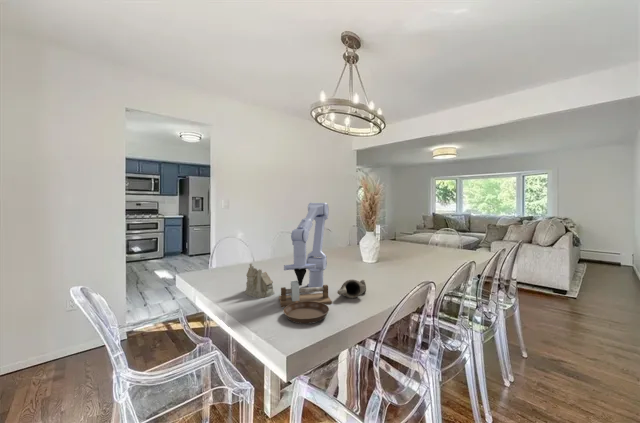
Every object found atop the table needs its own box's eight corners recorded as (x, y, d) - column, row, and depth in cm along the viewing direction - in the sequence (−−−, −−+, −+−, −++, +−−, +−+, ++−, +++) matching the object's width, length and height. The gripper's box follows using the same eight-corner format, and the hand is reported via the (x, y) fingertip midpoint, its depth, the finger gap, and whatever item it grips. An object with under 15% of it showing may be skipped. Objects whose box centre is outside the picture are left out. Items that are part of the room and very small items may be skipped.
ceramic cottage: (261, 299, 130) (262, 265, 130) (238, 293, 139) (239, 262, 140) (285, 292, 142) (285, 262, 143) (262, 288, 152) (263, 259, 153)
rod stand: (279, 298, 131) (279, 284, 131) (325, 294, 135) (325, 281, 135) (281, 307, 119) (280, 292, 119) (331, 303, 124) (331, 289, 124)
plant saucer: (291, 329, 99) (291, 321, 99) (278, 312, 115) (277, 304, 115) (337, 321, 106) (337, 313, 106) (318, 305, 122) (318, 298, 122)
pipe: (344, 310, 137) (347, 304, 124) (332, 295, 140) (334, 287, 127) (369, 290, 142) (375, 282, 129) (358, 276, 145) (362, 266, 132)
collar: (290, 296, 130) (290, 281, 129) (297, 295, 130) (297, 280, 130) (292, 301, 123) (292, 285, 123) (299, 301, 123) (299, 285, 123)
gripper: (284, 257, 124) (284, 288, 124) (317, 256, 127) (317, 286, 127) (283, 254, 131) (283, 284, 131) (314, 253, 134) (314, 282, 134)
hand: (300, 285), depth 129 cm, fingers closed
